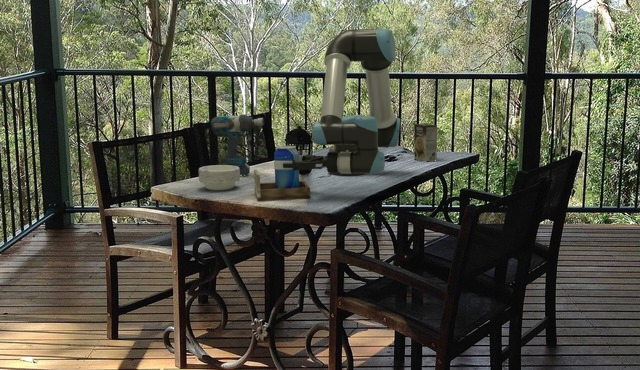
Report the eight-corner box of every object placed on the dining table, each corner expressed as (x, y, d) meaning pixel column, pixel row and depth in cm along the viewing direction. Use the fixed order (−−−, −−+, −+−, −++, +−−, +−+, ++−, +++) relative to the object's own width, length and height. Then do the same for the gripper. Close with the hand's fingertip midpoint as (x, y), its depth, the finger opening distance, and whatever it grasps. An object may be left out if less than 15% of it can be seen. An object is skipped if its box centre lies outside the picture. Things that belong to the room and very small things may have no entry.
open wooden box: (304, 191, 283) (304, 166, 282) (310, 198, 269) (309, 172, 268) (254, 193, 281) (253, 168, 279) (257, 201, 267) (256, 174, 265)
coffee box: (413, 160, 352) (413, 124, 349) (425, 158, 355) (425, 123, 352) (425, 162, 344) (425, 125, 341) (437, 161, 347) (437, 124, 344)
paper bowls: (247, 188, 291) (246, 167, 290) (209, 193, 283) (208, 172, 282) (229, 183, 304) (228, 163, 302) (193, 188, 296) (191, 167, 294)
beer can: (304, 191, 276) (302, 146, 273) (291, 195, 269) (290, 148, 266) (283, 189, 280) (282, 145, 277) (270, 193, 273) (269, 147, 270)
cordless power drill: (264, 177, 316) (261, 115, 312) (211, 176, 320) (207, 115, 316) (269, 174, 324) (267, 113, 319) (217, 173, 328) (214, 113, 324)
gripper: (345, 146, 281) (287, 146, 285) (332, 156, 257) (269, 156, 261) (345, 167, 282) (288, 167, 287) (332, 179, 258) (270, 178, 262)
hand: (279, 162), depth 274 cm, fingers open, 13 cm apart
